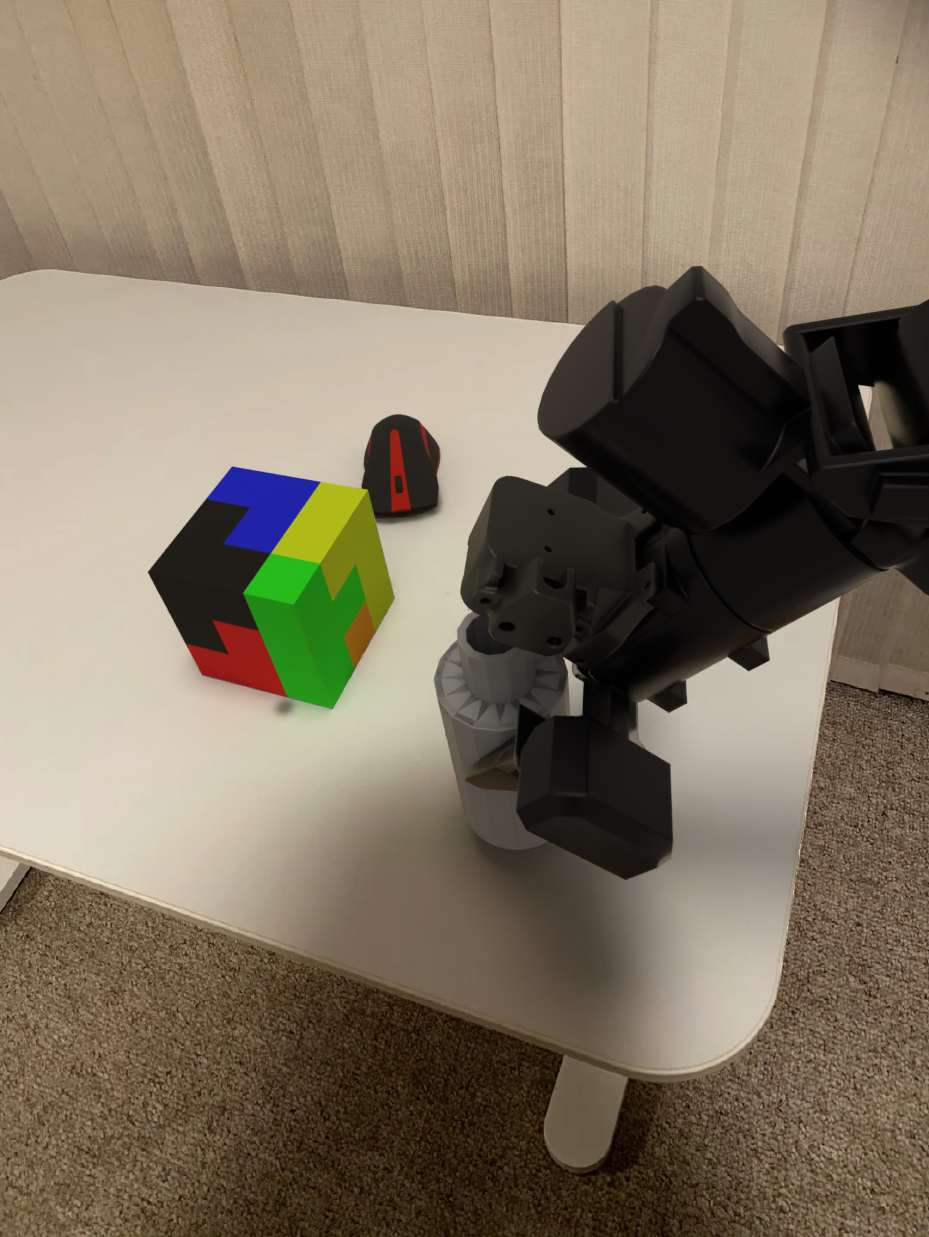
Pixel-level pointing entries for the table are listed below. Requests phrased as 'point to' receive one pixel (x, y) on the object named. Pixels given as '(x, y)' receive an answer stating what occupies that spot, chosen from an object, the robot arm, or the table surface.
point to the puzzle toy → (277, 583)
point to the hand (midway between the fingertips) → (479, 723)
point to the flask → (493, 717)
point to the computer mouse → (401, 467)
